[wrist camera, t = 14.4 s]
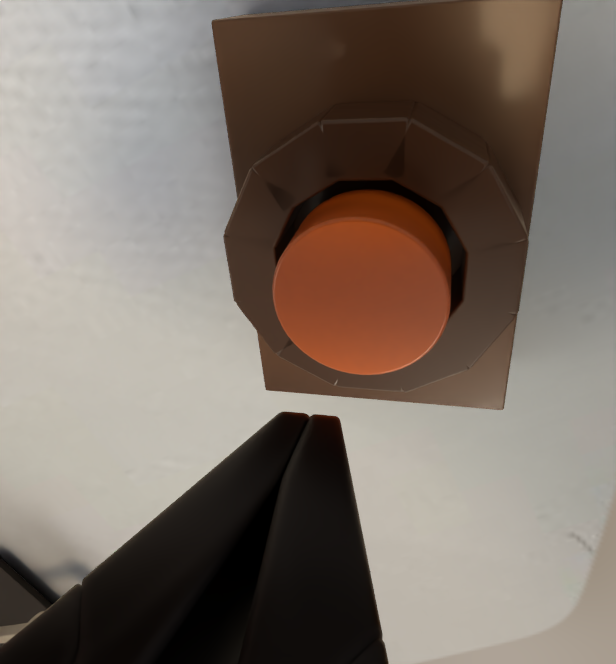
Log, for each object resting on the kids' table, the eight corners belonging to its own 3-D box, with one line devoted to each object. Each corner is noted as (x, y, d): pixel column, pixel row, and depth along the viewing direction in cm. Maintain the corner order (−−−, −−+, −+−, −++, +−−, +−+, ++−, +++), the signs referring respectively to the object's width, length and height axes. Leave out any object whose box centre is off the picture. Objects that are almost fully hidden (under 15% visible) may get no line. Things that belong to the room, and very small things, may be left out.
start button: (446, 337, 13) (445, 382, 11) (299, 329, 14) (280, 370, 12) (457, 187, 11) (456, 218, 10) (284, 188, 12) (261, 217, 10)
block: (498, 365, 17) (508, 456, 14) (284, 351, 19) (246, 429, 15) (548, -11, 12) (582, -7, 9) (243, 14, 13) (174, 26, 10)
